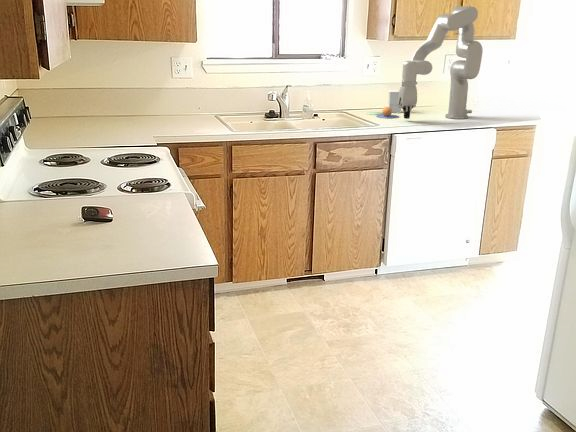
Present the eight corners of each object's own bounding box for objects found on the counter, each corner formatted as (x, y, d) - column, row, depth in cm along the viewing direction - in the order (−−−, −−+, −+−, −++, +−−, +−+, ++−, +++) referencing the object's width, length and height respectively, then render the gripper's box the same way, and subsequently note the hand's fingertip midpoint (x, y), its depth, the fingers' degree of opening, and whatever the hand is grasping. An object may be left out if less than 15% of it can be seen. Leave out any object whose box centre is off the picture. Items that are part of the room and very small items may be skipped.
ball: (391, 117, 347) (386, 110, 349) (395, 111, 342) (390, 104, 344) (383, 119, 344) (379, 112, 346) (387, 113, 340) (382, 105, 342)
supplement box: (400, 111, 364) (401, 90, 360) (401, 113, 357) (402, 91, 353) (387, 111, 365) (388, 89, 361) (388, 112, 358) (389, 91, 354)
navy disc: (390, 114, 353) (390, 113, 353) (403, 117, 342) (403, 117, 342) (371, 115, 348) (371, 115, 348) (384, 119, 337) (384, 118, 337)
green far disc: (377, 111, 361) (377, 111, 361) (387, 114, 353) (387, 113, 353) (363, 112, 357) (363, 112, 357) (373, 115, 349) (373, 115, 349)
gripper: (415, 83, 331) (413, 116, 337) (393, 84, 324) (391, 118, 330) (424, 84, 324) (421, 118, 330) (401, 85, 318) (399, 120, 324)
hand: (406, 118), depth 330 cm, fingers closed
